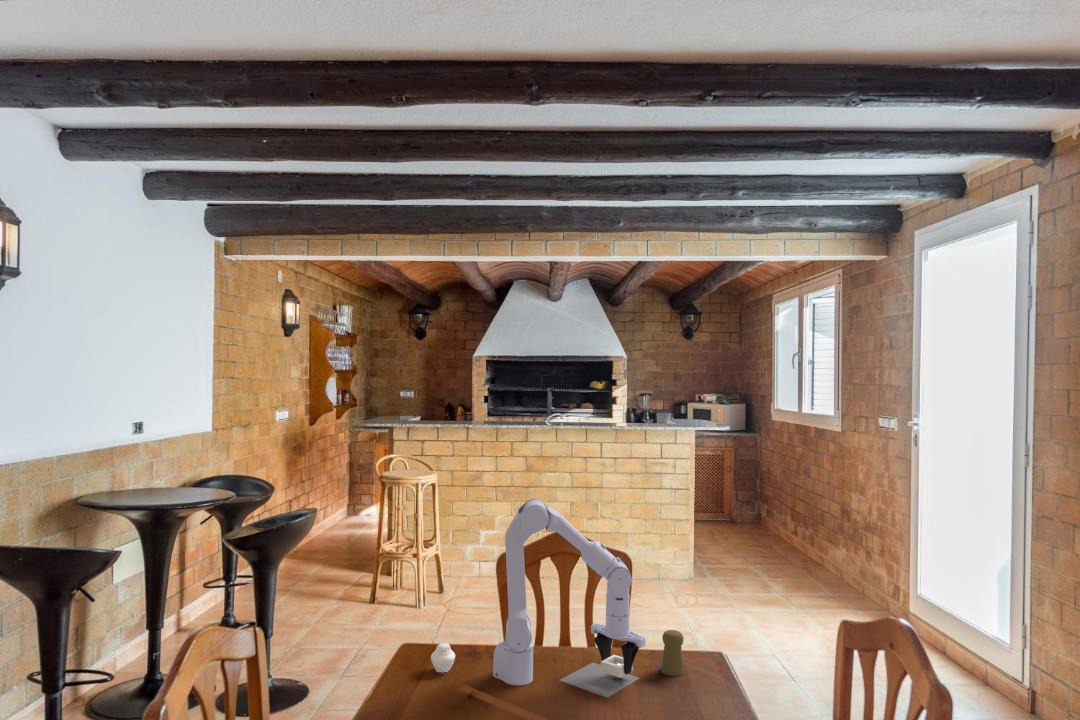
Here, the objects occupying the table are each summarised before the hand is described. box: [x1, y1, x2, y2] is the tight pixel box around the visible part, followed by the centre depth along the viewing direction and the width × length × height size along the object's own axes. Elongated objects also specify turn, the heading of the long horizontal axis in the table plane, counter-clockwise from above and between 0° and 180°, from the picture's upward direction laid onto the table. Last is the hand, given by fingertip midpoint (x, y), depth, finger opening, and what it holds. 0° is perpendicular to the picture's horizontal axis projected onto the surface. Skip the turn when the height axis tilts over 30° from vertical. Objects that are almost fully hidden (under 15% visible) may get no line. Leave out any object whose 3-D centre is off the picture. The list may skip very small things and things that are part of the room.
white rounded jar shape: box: [430, 642, 456, 674], centre depth 177 cm, size 6×6×7 cm
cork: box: [660, 629, 685, 677], centre depth 176 cm, size 6×6×11 cm
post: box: [612, 661, 622, 681], centre depth 171 cm, size 3×3×4 cm
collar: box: [600, 654, 634, 678], centre depth 171 cm, size 6×6×2 cm
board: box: [559, 662, 640, 698], centre depth 171 cm, size 14×14×1 cm
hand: (617, 669), depth 171 cm, fingers closed on collar, 5 cm apart
